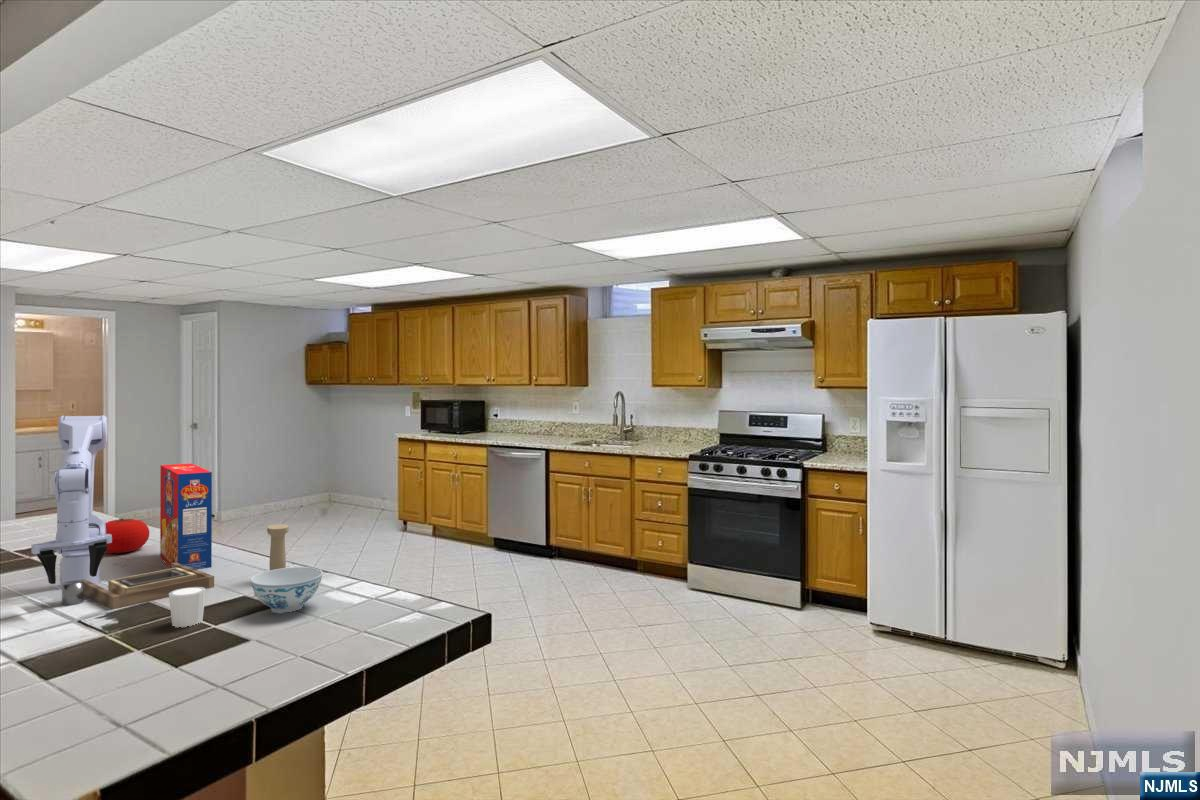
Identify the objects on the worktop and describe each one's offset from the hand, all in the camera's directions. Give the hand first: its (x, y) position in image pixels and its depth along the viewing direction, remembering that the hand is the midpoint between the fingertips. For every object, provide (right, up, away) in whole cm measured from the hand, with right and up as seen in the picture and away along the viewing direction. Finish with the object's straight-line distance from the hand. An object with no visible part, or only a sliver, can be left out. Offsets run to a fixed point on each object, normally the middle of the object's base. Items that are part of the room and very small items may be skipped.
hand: (73, 579), depth 152 cm
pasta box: (+1, -7, +39) cm, 40 cm away
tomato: (-27, -6, +53) cm, 60 cm away
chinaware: (+49, -7, +1) cm, 49 cm away
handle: (+37, -7, +21) cm, 43 cm away
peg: (0, -7, 0) cm, 7 cm away
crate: (+12, -5, +9) cm, 16 cm away
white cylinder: (+32, -7, -9) cm, 34 cm away
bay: (+10, -7, +11) cm, 16 cm away
